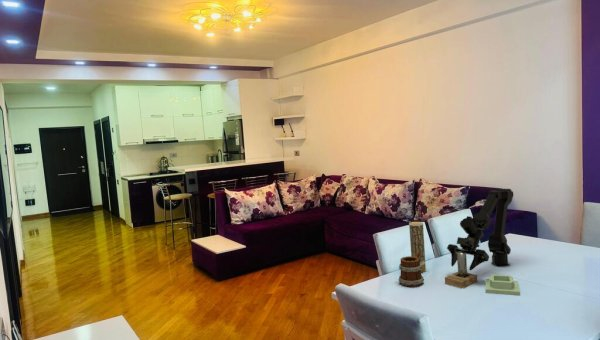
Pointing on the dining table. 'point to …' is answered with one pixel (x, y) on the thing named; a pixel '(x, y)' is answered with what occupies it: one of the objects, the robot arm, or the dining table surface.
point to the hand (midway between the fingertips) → (460, 267)
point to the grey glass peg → (462, 264)
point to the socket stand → (502, 285)
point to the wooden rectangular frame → (460, 280)
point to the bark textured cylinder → (417, 242)
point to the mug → (411, 271)
